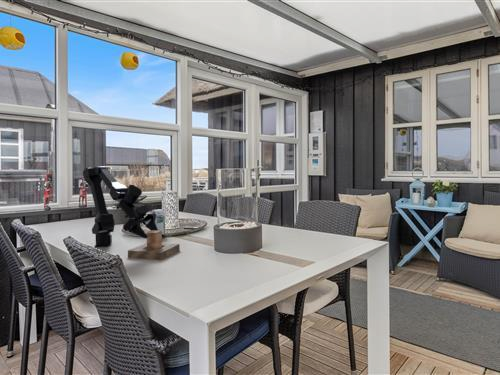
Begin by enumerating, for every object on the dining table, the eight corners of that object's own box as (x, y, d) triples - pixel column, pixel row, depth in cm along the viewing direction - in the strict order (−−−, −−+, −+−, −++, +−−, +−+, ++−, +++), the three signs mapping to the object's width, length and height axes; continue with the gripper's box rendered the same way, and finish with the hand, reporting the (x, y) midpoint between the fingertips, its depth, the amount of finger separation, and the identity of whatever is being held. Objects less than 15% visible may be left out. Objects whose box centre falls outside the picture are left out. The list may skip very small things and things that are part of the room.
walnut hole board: (128, 257, 146) (127, 250, 146) (148, 248, 161) (148, 241, 161) (161, 259, 142) (161, 252, 141) (179, 250, 157) (179, 243, 157)
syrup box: (156, 237, 185) (156, 210, 184) (150, 235, 189) (149, 209, 188) (165, 235, 190) (164, 209, 189) (158, 234, 193) (157, 208, 192)
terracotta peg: (147, 254, 150) (146, 232, 149) (152, 252, 154) (152, 230, 153) (156, 255, 149) (156, 232, 148) (162, 252, 153) (161, 230, 152)
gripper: (128, 199, 142) (152, 227, 140) (152, 195, 160) (174, 219, 158) (112, 217, 145) (136, 245, 143) (138, 211, 163) (159, 235, 161)
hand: (152, 235), depth 151 cm, fingers open, 9 cm apart
